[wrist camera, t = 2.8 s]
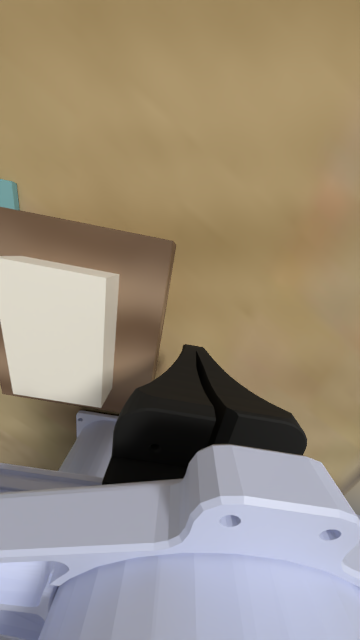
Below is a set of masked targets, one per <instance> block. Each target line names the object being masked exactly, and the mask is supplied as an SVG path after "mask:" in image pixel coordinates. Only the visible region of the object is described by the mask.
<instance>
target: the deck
mask: <svg viewBox="0 0 360 640" xmlns="http://www.w3.org/2000/svg"><path fill="white" fill-rule="evenodd" d="M175 249H176V244H175V243H174V242H173V241H170V240H165V239H160V238H155V237H150V236H145V235H140V234H135V233H130V232H125V231H120V230H115V229H110V228H105V227H100V226H95V225H90V224H85V223H80V222H75V221H70V220H65V219H60V218H55V217H50V216H45V215H40V214H35V213H30V212H25V211H19V210H14V209H9V208H4V207H0V256H25V257H30V258H36V259H41V260H46V261H51V262H57V263H62V264H67V265H73V266H78V267H83V268H88V269H94V270H99V271H104V272H110V273H115V274H119V290H118V305H117V321H116V336H115V352H114V368H113V383H112V389H111V391H110V393H109V395H108V396H107V398H106V400H105V402H104V404H103V405H102V407H101V408H98V407H92V406H86V405H80V404H73V403H67V402H61V401H54V400H48V399H42V398H36V397H29V396H23V395H17V394H13V390H12V384H11V379H10V373H9V367H8V362H7V356H6V351H5V345H4V339H3V334H2V328H1V322H0V384H1V389H2V394H6V395H13V396H19V397H25V398H31V399H38V400H44V401H50V402H56V403H63V404H69V405H75V406H82V407H88V408H94V409H100V410H107V411H113V412H119V413H120V412H121V410H122V408H123V406H124V405H125V403H126V402H127V400H128V399H129V397H130V396H131V394H132V393H133V392H134V390H135V389H136V388H138V387H141V386H143V385H146V384H148V383H150V382H152V381H153V380H154V378H155V372H156V366H157V360H158V354H159V348H160V341H161V335H162V329H163V323H164V317H165V311H166V304H167V298H168V292H169V286H170V280H171V274H172V268H173V261H174V255H175Z"/></svg>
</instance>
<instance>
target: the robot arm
mask: <svg viewBox="0 0 360 640" xmlns="http://www.w3.org/2000/svg"><path fill="white" fill-rule="evenodd" d="M76 428H77V440H76V441H75V443H74V445H73V446H72V448H71V450H70V451H69V453H68V455H67V457H66V458H65V460H64V462H63V463H62V465H61V467H60V468H59V470H58V471H54V470H47V469H40V468H33V467H26V466H20V465H13V464H6V463H0V640H360V515H357V514H355V513H354V511H353V509H352V508H351V506H350V505H349V503H348V502H347V500H346V499H345V497H344V496H343V494H342V493H341V491H340V490H339V488H338V487H337V485H336V484H335V482H334V481H333V479H332V478H331V476H330V475H329V473H328V472H327V470H326V469H325V467H324V466H323V464H322V463H321V462H319V461H316V460H314V459H311V458H308V457H306V456H303V453H304V451H305V449H306V446H307V438H306V435H305V433H304V431H303V430H302V428H301V427H300V425H299V424H298V422H297V421H296V419H295V418H294V417H293V415H292V414H291V413H289V412H287V411H285V410H283V409H281V408H279V407H277V406H275V405H273V404H271V403H269V402H267V401H266V400H264V399H262V398H260V397H259V396H257V395H255V394H254V393H252V392H250V391H249V390H248V389H246V388H245V387H243V386H242V385H240V384H239V383H238V382H236V381H235V380H234V379H233V378H232V377H230V376H229V375H228V374H227V373H226V372H225V371H224V370H223V369H222V368H221V367H220V366H219V365H218V364H217V363H216V362H215V361H214V360H213V358H212V357H211V356H210V355H209V354H208V353H207V351H206V350H205V349H204V348H203V347H198V346H192V345H187V344H185V345H183V349H182V352H181V354H180V356H179V357H178V359H177V360H176V361H175V362H174V364H173V365H172V366H171V367H170V368H169V369H168V370H167V371H166V372H165V373H163V374H162V375H161V376H160V377H158V378H157V379H155V380H153V381H152V382H150V383H148V384H146V385H143V386H141V387H138V388H136V389H135V390H134V392H133V393H132V394H131V396H130V397H129V399H128V400H127V402H126V403H125V405H124V406H123V408H122V410H121V412H120V414H119V416H114V415H107V414H101V413H95V412H88V411H78V413H77V414H76Z"/></svg>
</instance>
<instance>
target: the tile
mask: <svg viewBox="0 0 360 640" xmlns="http://www.w3.org/2000/svg"><path fill="white" fill-rule="evenodd" d="M118 290H119V274H115V273H110V272H104V271H99V270H94V269H88V268H83V267H78V266H73V265H67V264H62V263H57V262H51V261H46V260H41V259H36V258H30V257H25V256H0V322H1V328H2V334H3V339H4V345H5V351H6V356H7V362H8V367H9V373H10V379H11V384H12V390H13V394H17V395H23V396H29V397H36V398H42V399H48V400H54V401H61V402H67V403H73V404H80V405H86V406H92V407H98V408H101V407H102V405H103V404H104V402H105V400H106V398H107V396H108V395H109V393H110V391H111V389H112V383H113V368H114V352H115V336H116V321H117V305H118Z"/></svg>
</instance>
